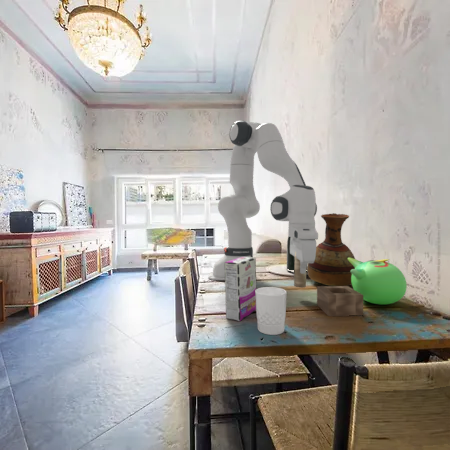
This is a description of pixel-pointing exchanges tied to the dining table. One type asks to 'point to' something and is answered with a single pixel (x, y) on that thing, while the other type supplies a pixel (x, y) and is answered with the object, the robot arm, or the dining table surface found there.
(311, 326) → the dining table surface
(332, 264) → the brown clay vase
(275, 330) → the white cup
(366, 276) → the green rounded body
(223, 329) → the dining table surface
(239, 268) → the candy bar box
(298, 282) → the beech dowel
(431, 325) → the dining table surface
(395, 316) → the dining table surface
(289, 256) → the dark wine bottle
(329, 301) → the socket block
